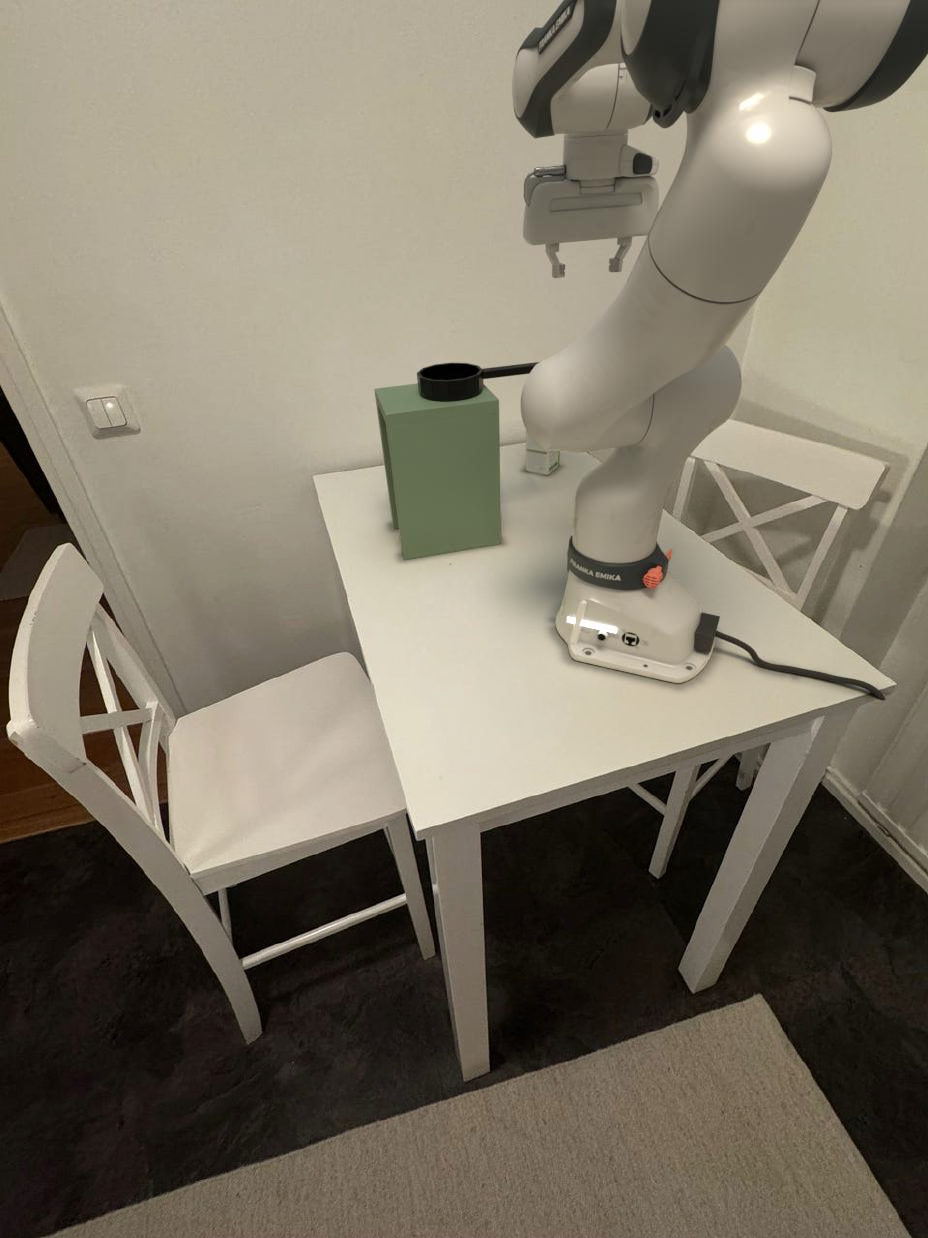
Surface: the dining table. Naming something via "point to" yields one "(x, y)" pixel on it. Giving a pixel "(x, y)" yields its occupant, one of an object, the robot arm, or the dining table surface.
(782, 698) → the dining table surface
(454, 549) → the green hollow pedestal
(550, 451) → the syrup box
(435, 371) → the pan
